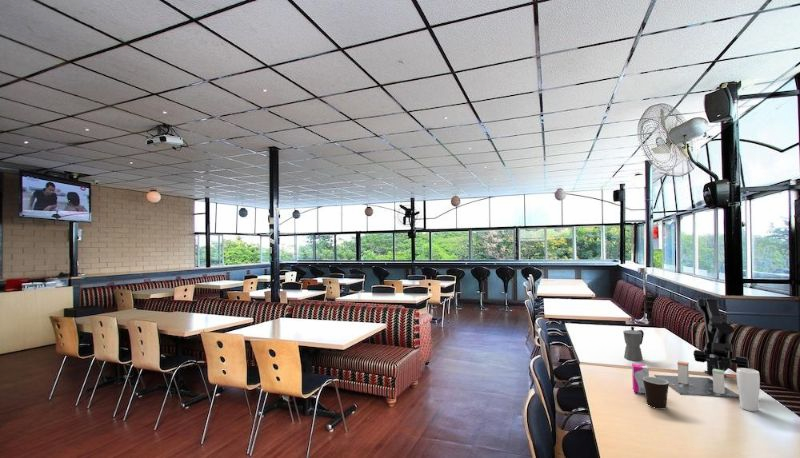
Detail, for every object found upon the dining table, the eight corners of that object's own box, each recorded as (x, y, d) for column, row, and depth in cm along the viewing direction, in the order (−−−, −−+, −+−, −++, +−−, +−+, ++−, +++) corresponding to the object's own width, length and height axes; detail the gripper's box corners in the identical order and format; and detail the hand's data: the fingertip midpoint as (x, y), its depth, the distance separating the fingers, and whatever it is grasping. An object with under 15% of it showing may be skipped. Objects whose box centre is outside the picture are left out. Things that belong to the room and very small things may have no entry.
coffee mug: (661, 412, 149) (660, 385, 149) (639, 403, 157) (638, 378, 157) (678, 406, 154) (677, 380, 155) (655, 398, 162) (655, 374, 162)
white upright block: (714, 390, 169) (713, 368, 170) (725, 392, 167) (724, 370, 167) (713, 392, 167) (712, 370, 168) (724, 394, 164) (723, 372, 165)
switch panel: (654, 375, 190) (654, 374, 190) (708, 378, 186) (708, 377, 186) (680, 394, 166) (680, 393, 166) (743, 398, 162) (743, 397, 162)
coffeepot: (633, 362, 212) (632, 329, 213) (617, 358, 220) (616, 326, 221) (652, 359, 218) (651, 327, 219) (636, 355, 226) (635, 324, 227)
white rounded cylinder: (765, 413, 147) (763, 373, 148) (745, 412, 149) (743, 372, 149) (753, 406, 154) (751, 368, 155) (733, 405, 155) (732, 367, 156)
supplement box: (647, 390, 171) (646, 364, 171) (649, 395, 165) (649, 368, 166) (632, 388, 173) (631, 362, 174) (634, 393, 168) (633, 366, 168)
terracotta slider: (679, 380, 181) (678, 360, 181) (689, 382, 178) (688, 362, 179) (678, 382, 179) (677, 362, 179) (687, 384, 176) (687, 364, 177)
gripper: (693, 332, 180) (689, 361, 171) (747, 339, 166) (746, 370, 158) (696, 346, 185) (693, 375, 177) (749, 353, 171) (748, 385, 163)
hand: (719, 376), depth 169 cm, fingers closed
